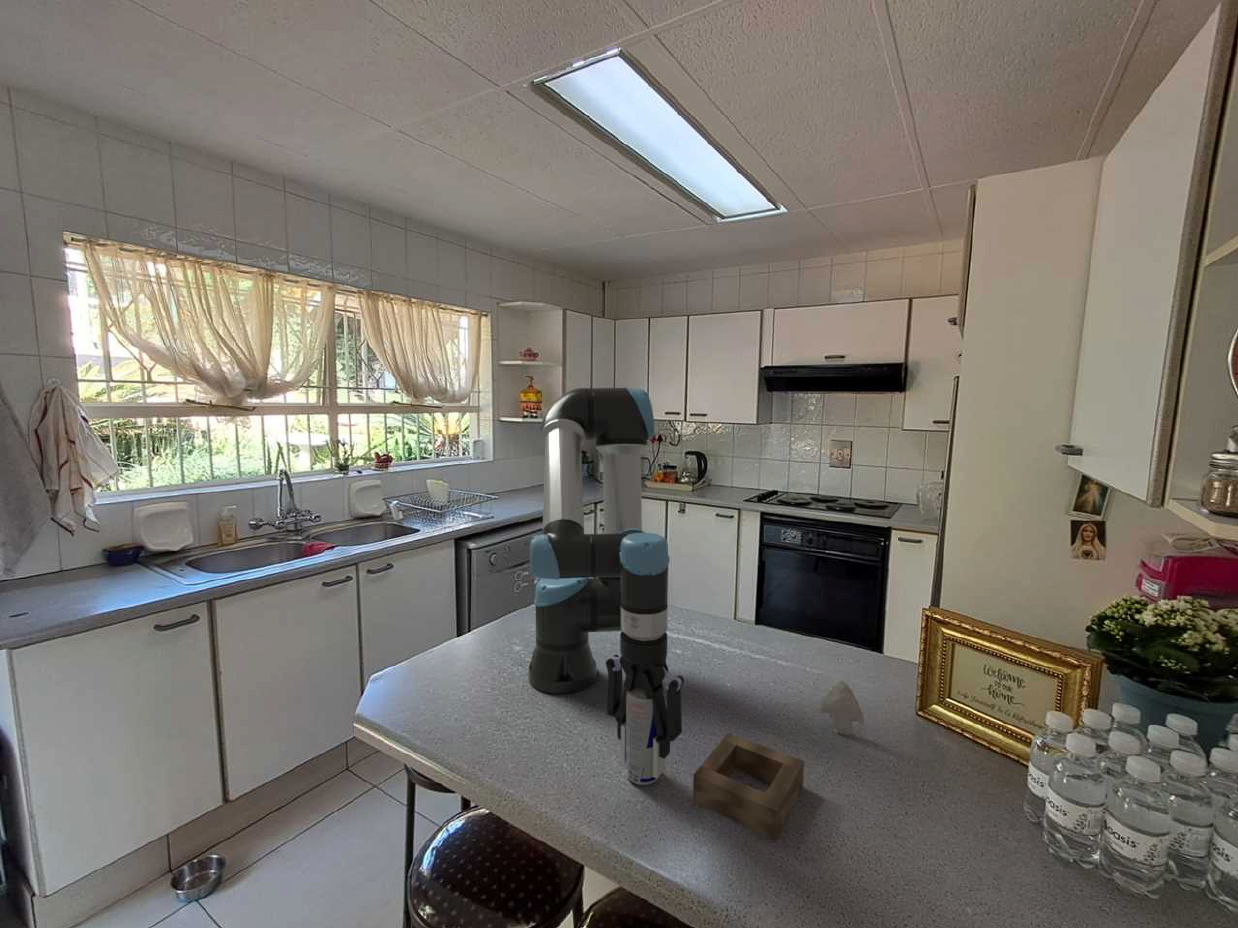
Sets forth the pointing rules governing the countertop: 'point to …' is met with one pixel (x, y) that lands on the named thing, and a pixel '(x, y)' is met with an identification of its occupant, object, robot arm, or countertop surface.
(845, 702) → the arrowhead
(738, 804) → the socket
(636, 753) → the beverage can
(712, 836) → the countertop surface
